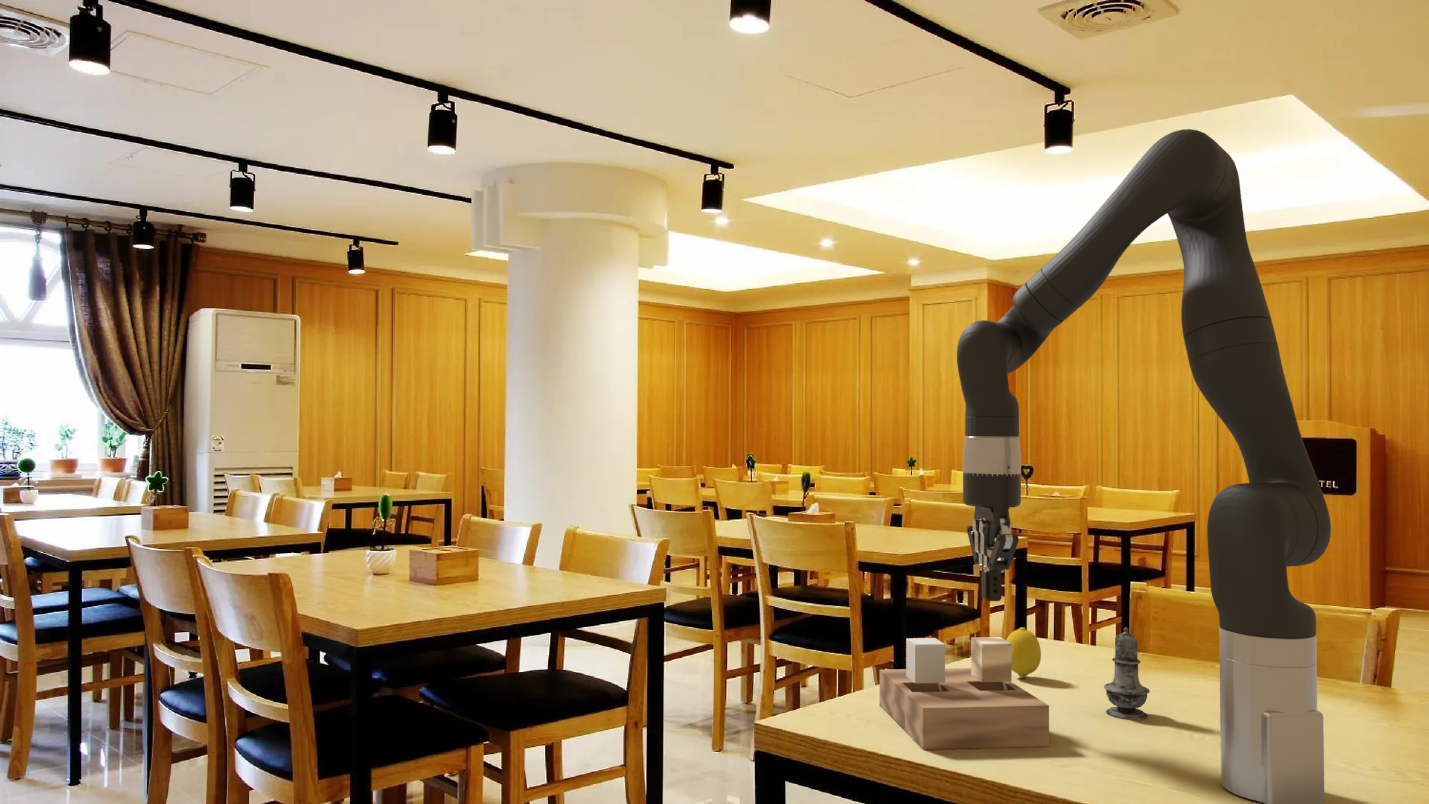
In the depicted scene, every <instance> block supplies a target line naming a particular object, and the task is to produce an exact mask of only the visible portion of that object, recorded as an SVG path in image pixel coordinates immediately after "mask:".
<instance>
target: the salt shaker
mask: <svg viewBox="0 0 1429 804" xmlns="http://www.w3.org/2000/svg"><path fill="white" fill-rule="evenodd" d="M1114 651H1115V652H1114V657H1113V658H1112V659H1111V661H1113V662H1114V676H1113V679H1112V681H1111V682H1110V683H1109V682H1108V683H1106V684H1104V685H1103V689H1104V690H1105V691H1106V693H1105V694H1106V697H1107V699H1108V701H1109V702H1110V703H1111V704H1112V705H1114V706H1112V707H1110V708H1108V709H1106V711H1105V713H1106V714H1107V715H1108V716H1110V717H1113V718H1116V719H1122V720H1131V721H1138V720H1145V719H1147V718H1148V717H1149V716H1148V714H1147V713H1146V712H1145V711H1144V710H1141V709H1139V708H1141V707H1142V706H1143V705H1144V704H1146V701H1147V699H1148V694H1150V692H1151V691H1150V689H1149V688H1148V687H1146V686H1143V685H1142V683H1141V682H1140V678H1139V664H1140V663H1141V660H1140V659H1138V656H1139V655H1138V638H1137V637H1136V636H1135V635H1133V634H1131V633H1130V632H1129V628H1128V627H1127V626H1125V627H1124V629H1123V632H1122V633H1119V634H1117V635H1116V636H1115V638H1114Z"/></svg>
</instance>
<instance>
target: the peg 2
mask: <svg viewBox="0 0 1429 804" xmlns="http://www.w3.org/2000/svg"><path fill="white" fill-rule="evenodd" d="M1006 640H1007V639H1004V638H1002V637H1001V636H990V637H987V636H983V637H982V636H981V637H970V643H971V644H970V647H971V648H970V657H971V658H970V660H971V661H970V663H971V664H970V665H971V666H970V668H971V675H972V676H974V677H975V678H977V679H978V680H980V681H981V682H1012V683H1013V681H1012V672H1013V671H1012V661H1011V643H1010V642H1008V641H1006Z"/></svg>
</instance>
